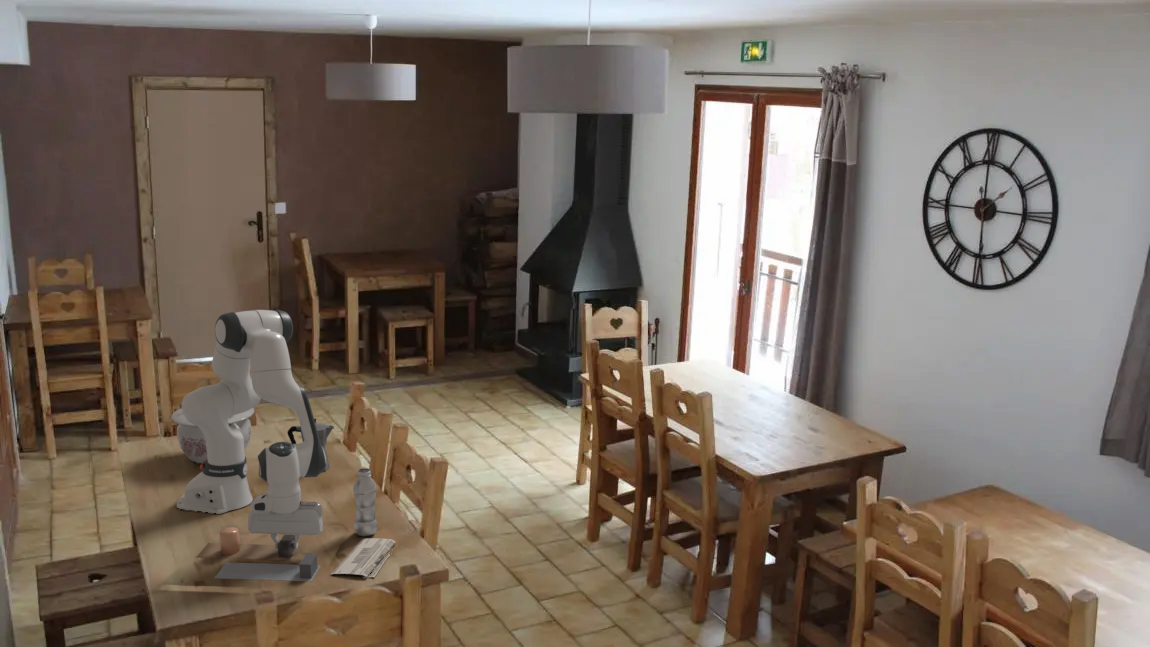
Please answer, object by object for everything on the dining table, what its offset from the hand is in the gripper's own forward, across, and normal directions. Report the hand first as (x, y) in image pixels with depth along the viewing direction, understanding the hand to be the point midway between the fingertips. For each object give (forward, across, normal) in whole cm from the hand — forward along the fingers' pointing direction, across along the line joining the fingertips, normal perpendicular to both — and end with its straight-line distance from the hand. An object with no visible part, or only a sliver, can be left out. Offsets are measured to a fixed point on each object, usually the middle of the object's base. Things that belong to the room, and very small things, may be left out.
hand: (286, 547), depth 285 cm
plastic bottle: (+3, -18, -16) cm, 25 cm away
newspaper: (+4, -22, 0) cm, 23 cm away
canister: (+2, +16, 0) cm, 16 cm away
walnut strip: (+3, +11, 0) cm, 11 cm away
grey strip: (+3, +2, +12) cm, 12 cm away
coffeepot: (+3, +11, -66) cm, 67 cm away
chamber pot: (+3, +47, -73) cm, 87 cm away
